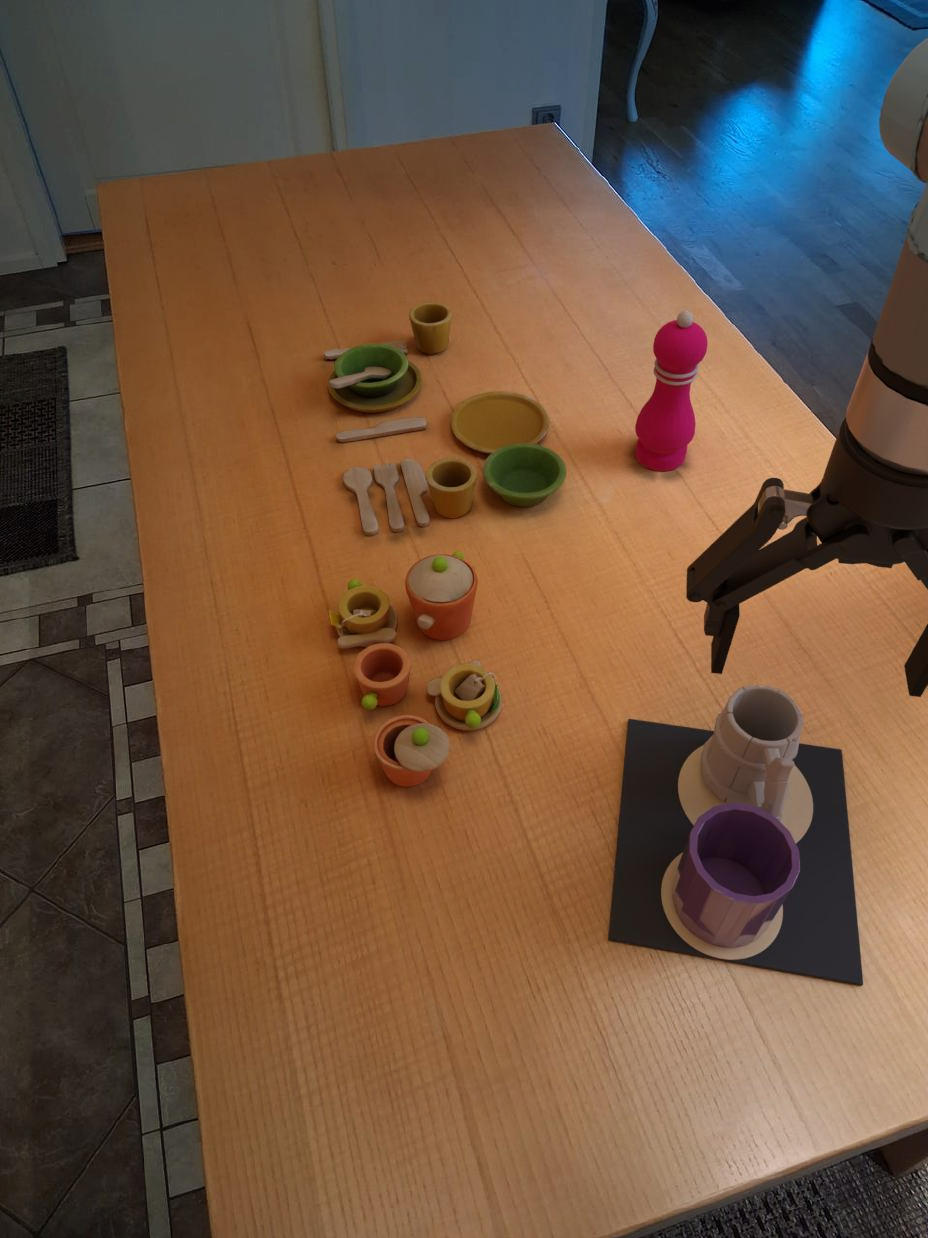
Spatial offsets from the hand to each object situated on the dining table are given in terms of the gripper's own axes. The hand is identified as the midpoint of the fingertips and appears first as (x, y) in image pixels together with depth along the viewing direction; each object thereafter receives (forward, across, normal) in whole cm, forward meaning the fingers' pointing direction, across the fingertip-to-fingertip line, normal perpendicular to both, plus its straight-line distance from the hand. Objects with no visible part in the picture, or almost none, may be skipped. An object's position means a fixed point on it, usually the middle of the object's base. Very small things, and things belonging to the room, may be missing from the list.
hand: (812, 670), depth 65 cm
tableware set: (+21, +39, -52) cm, 68 cm away
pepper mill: (+22, +10, -49) cm, 55 cm away
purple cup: (+21, +3, +9) cm, 23 cm away
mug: (+21, +1, -2) cm, 21 cm away
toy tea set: (+21, +32, -10) cm, 40 cm away
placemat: (+21, +2, +3) cm, 22 cm away
